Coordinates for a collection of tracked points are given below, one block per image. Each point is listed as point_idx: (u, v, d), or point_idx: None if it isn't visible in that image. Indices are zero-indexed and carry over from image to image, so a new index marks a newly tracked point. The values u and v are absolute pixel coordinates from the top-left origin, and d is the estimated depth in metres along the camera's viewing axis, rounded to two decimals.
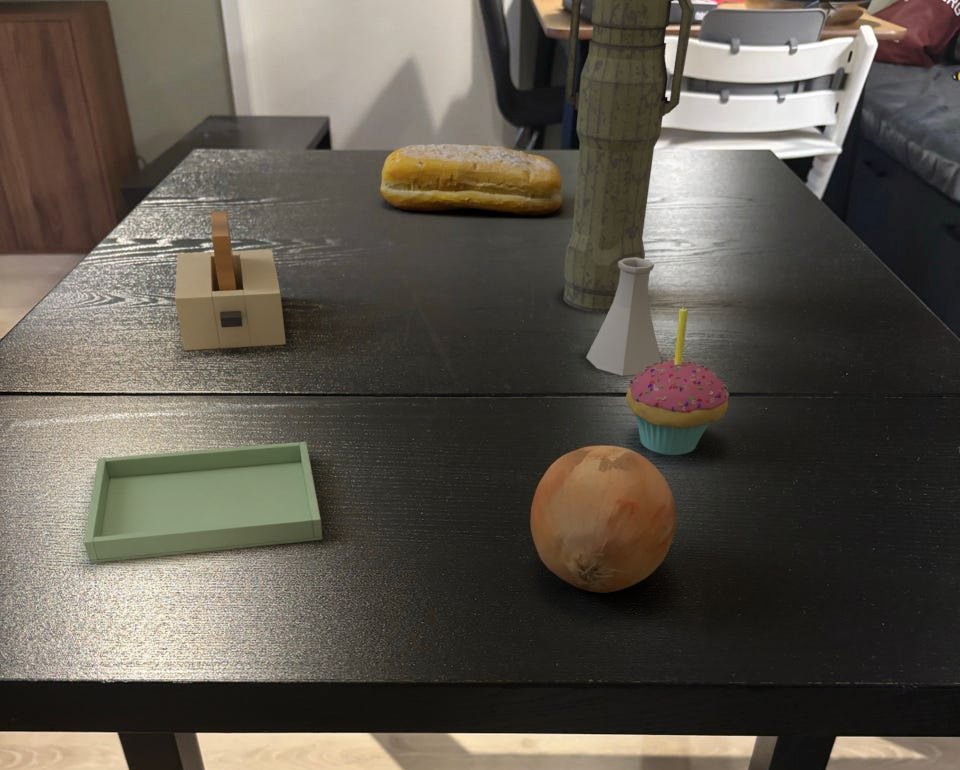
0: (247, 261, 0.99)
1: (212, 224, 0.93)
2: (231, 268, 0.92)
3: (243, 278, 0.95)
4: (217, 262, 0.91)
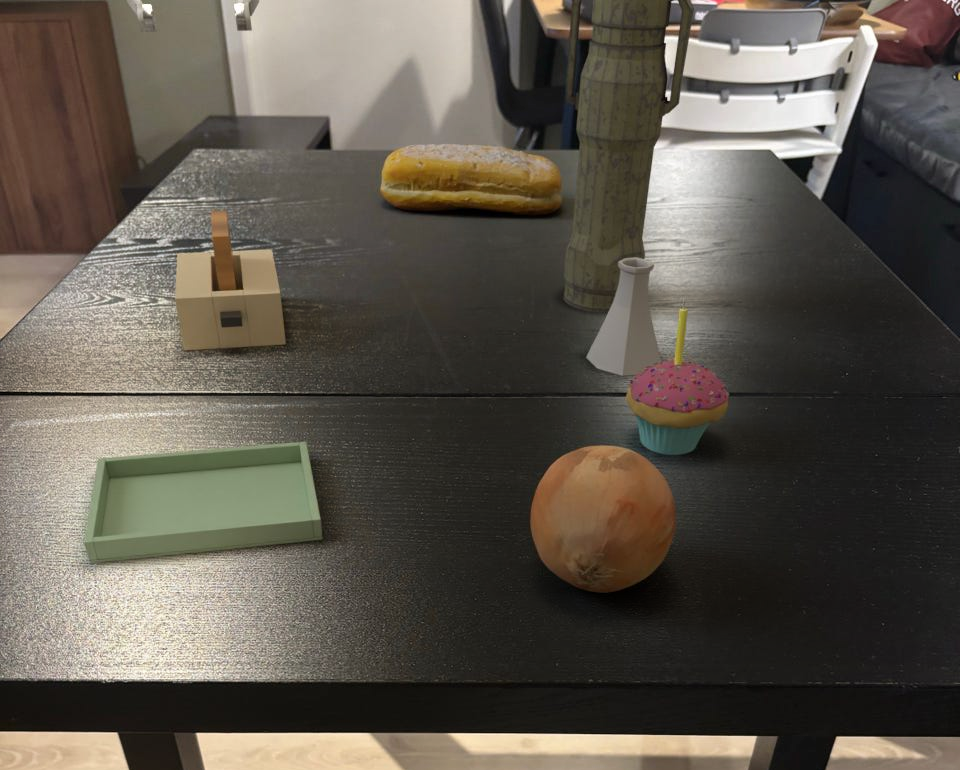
0: (247, 261, 0.99)
1: (212, 224, 0.93)
2: (231, 268, 0.92)
3: (243, 278, 0.95)
4: (217, 262, 0.91)
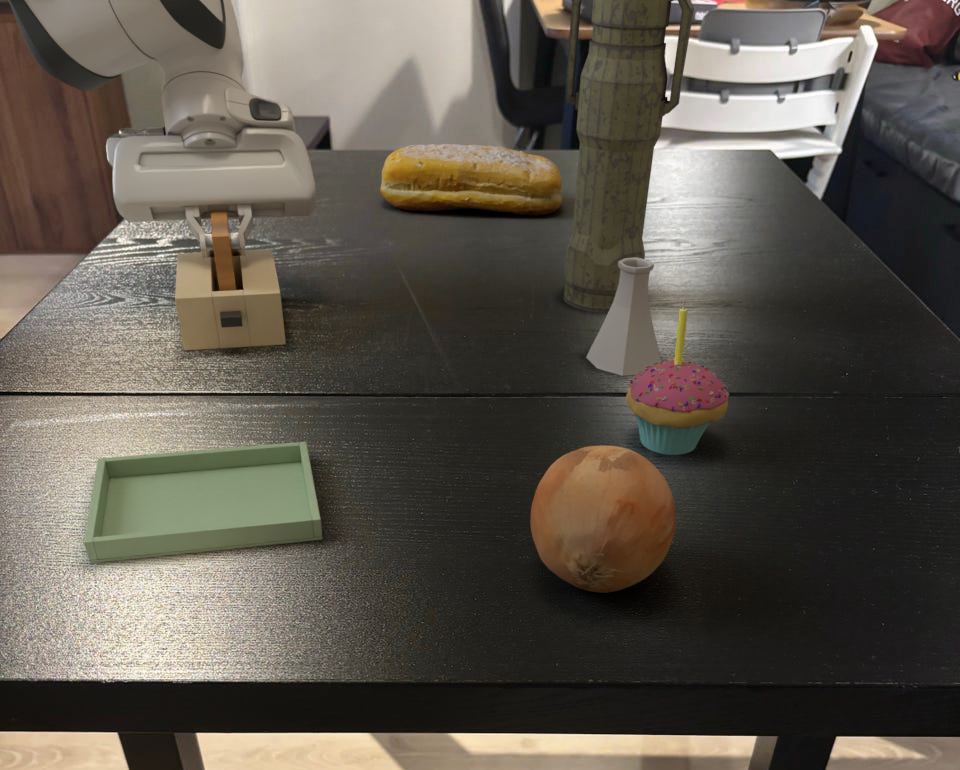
0: (247, 261, 0.99)
1: (212, 224, 0.93)
2: (231, 268, 0.92)
3: (243, 278, 0.95)
4: (217, 262, 0.91)
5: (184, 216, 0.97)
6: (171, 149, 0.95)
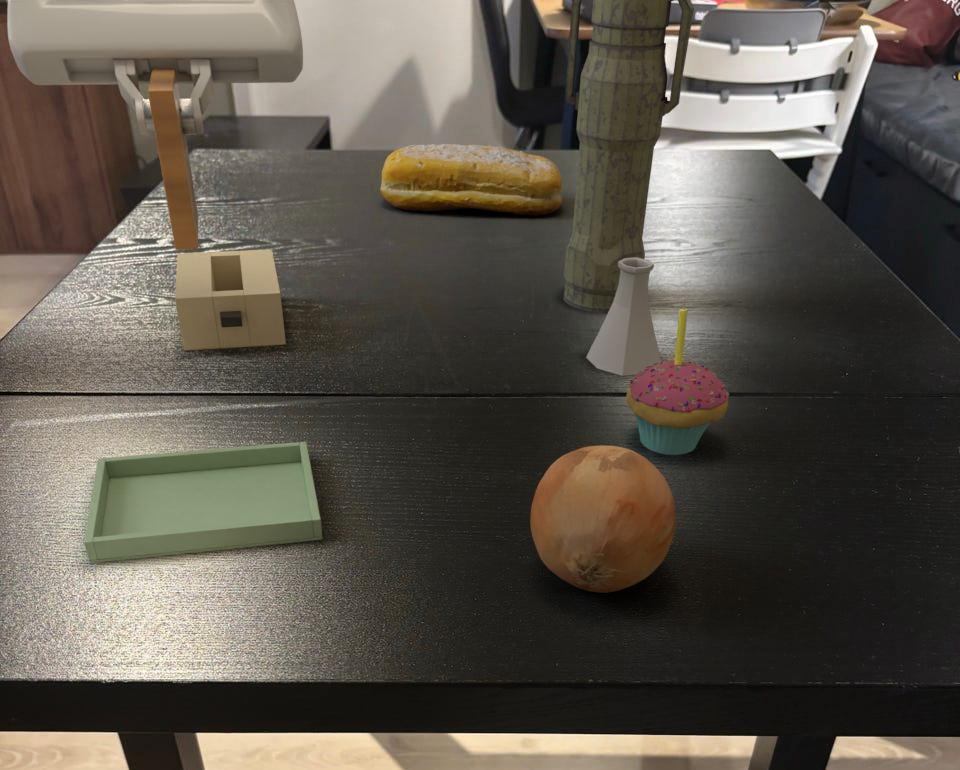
0: (247, 261, 0.99)
1: (151, 79, 0.64)
2: (178, 142, 0.63)
3: (243, 278, 0.95)
4: (157, 132, 0.62)
5: (115, 78, 0.68)
6: None
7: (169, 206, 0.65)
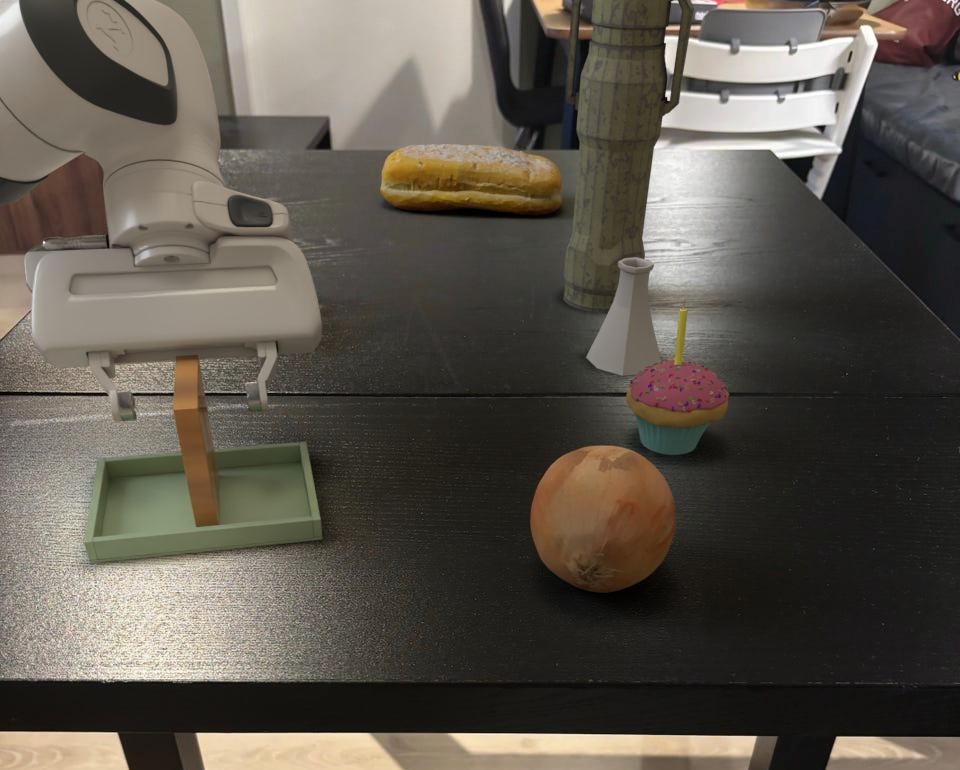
0: None
1: (175, 383, 0.65)
2: (202, 449, 0.64)
3: None
4: (182, 442, 0.63)
5: (136, 359, 0.69)
6: (116, 269, 0.66)
7: (192, 502, 0.66)
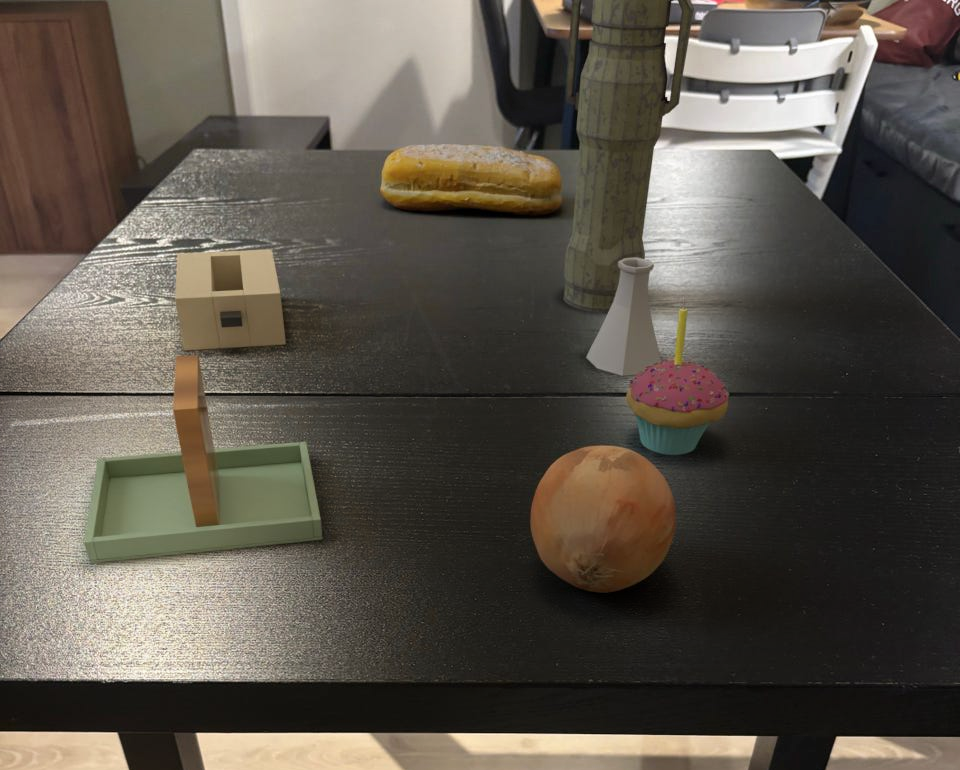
0: (247, 261, 0.99)
1: (175, 383, 0.65)
2: (202, 449, 0.64)
3: (243, 278, 0.95)
4: (182, 442, 0.63)
5: None
6: None
7: (192, 502, 0.66)
